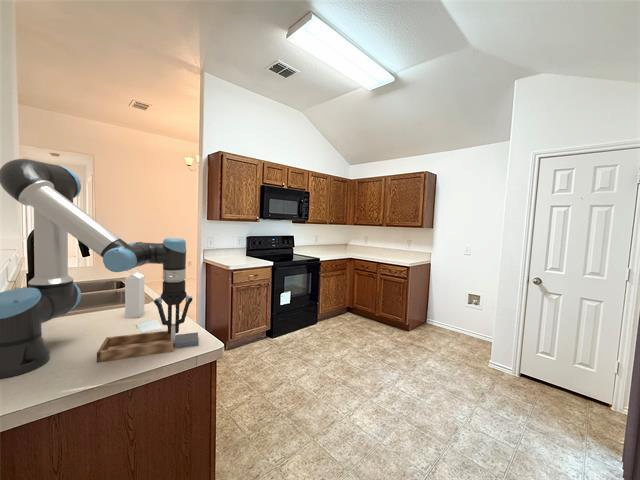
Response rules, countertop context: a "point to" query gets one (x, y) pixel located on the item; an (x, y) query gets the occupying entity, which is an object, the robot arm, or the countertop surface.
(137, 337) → the box
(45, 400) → the countertop surface
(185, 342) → the grey square tile
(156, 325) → the hard drive
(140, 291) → the milk
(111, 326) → the countertop surface
